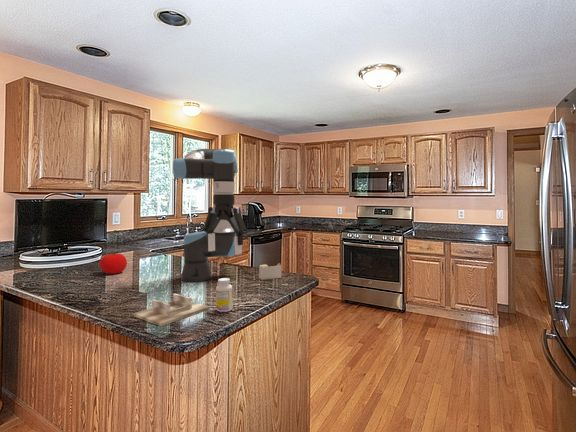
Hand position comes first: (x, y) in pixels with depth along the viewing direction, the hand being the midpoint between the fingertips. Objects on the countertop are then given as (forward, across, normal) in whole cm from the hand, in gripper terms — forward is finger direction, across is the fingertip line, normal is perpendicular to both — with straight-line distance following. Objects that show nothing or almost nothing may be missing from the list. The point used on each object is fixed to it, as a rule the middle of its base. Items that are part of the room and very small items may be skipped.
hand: (224, 252), depth 123 cm
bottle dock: (+21, -13, -13) cm, 28 cm away
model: (+21, -16, +47) cm, 54 cm away
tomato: (+21, -92, +7) cm, 95 cm away
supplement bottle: (+21, 0, 0) cm, 21 cm away
